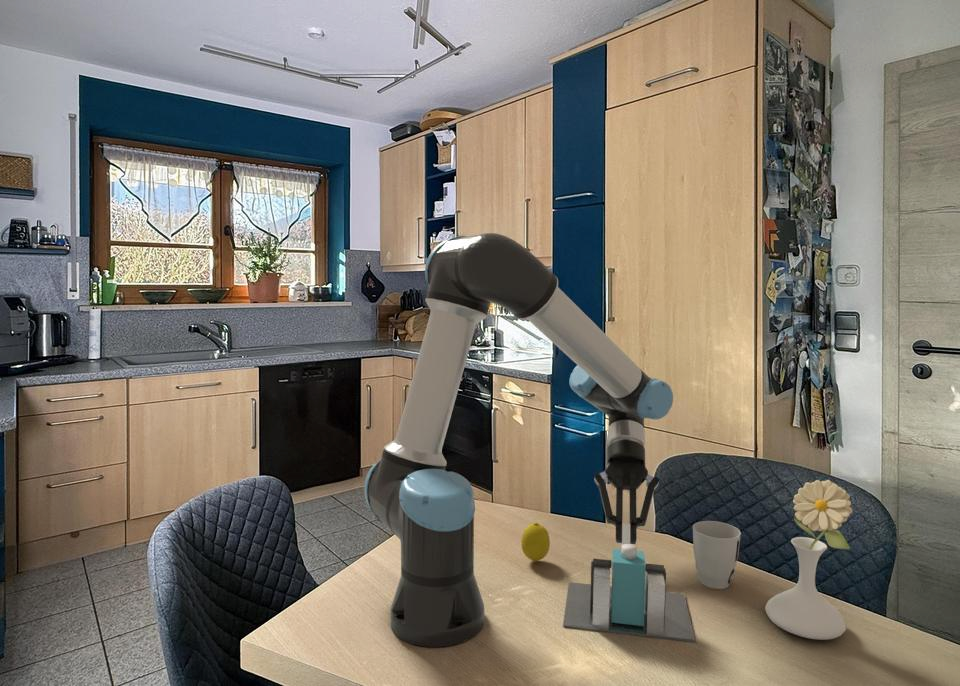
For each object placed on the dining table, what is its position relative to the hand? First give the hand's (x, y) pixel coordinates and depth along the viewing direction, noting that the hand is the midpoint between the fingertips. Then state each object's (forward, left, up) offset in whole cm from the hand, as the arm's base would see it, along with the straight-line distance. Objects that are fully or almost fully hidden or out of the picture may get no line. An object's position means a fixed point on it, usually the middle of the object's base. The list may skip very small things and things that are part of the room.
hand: (625, 559), depth 112 cm
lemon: (-17, +3, -4) cm, 18 cm away
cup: (+16, +2, -4) cm, 17 cm away
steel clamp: (0, -11, -4) cm, 12 cm away
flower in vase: (+28, -11, -4) cm, 30 cm away
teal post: (0, -15, -4) cm, 15 cm away
